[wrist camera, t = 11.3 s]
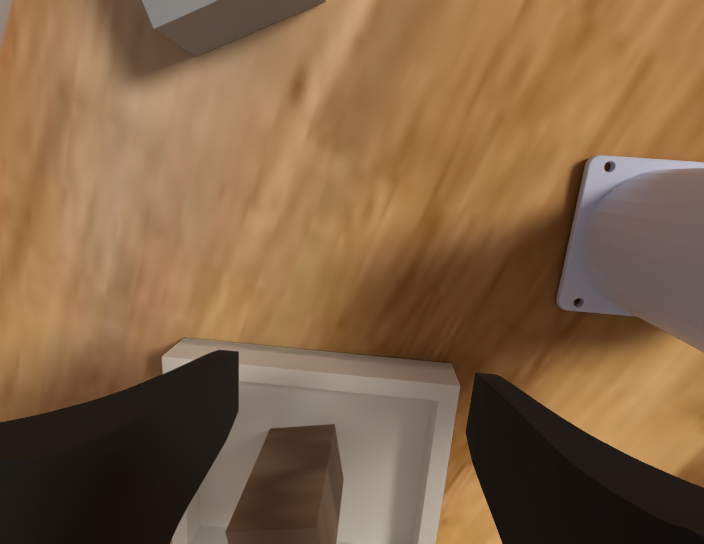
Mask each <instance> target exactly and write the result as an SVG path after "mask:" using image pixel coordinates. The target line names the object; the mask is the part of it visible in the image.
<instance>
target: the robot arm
mask: <svg viewBox="0 0 704 544" xmlns="http://www.w3.org/2000/svg"><path fill="white" fill-rule="evenodd" d="M607 162H609V163H610V164H611V168H610V170H609V171H607V172H606V171H605V170H604V166H605V164H606V163H607ZM577 298H580V302H579V303H578V304H577V305H574V303H573V302H574V300H575V299H577ZM556 303H557V305H558V306H559V307H560V308H562V309H563V310H567V311H578V312H589V313H601V314H612V315H623V316H634V317H639V318H641V319H642V320H644V321H646V322H648V323H650V324H652V325H654V326H655V327H657V328H659V329H661V330H663V331H665V332H667V333H668V334H670V335H672V336H674V337H676V338H678V339H679V340H681V341H683V342H685V343H687V344H689V345H691V346H692V347H694V348H696V349H698V350H700V351H702V352H704V162H691V161H677V160H662V159H648V158H633V157H619V156H604V155H599V156H593V157H591V158H589V159H588V161H587V162H586V164H585V168H584V173H583V177H582V182H581V187H580V191H579V196H578V201H577V205H576V210H575V215H574V219H573V224H572V229H571V233H570V238H569V243H568V248H567V252H566V257H565V262H564V266H563V271H562V276H561V280H560V285H559V290H558V294H557V299H556ZM238 411H239V351H228V350H217V351H214V352H211V353H208V354H206V355H204V356H202V357H199V358H197V359H195V360H193V361H191V362H189V363H186V364H184V365H182V366H180V367H178V368H176V369H173V370H171V371H169V372H167V373H165V374H162V375H160V376H157V377H155V378H153V379H150V380H148V381H145V382H143V383H141V384H138V385H136V386H133V387H131V388H128V389H126V390H123V391H120V392H117V393H114V394H111V395H108V396H105V397H102V398H99V399H96V400H93V401H90V402H86V403H83V404H79V405H75V406H71V407H67V408H63V409H60V410H56V411H52V412H48V413H44V414H40V415H35V416H31V417H26V418H21V419H16V420H11V421H6V422H0V544H170V542H171V540H172V537H173V535H174V533H175V531H176V529H177V527H178V524H179V522H180V521H181V519H182V517H183V515H184V513H185V511H186V509H187V507H188V506H189V504H190V502H191V501H192V499H193V497H194V495H195V494H196V492H197V490H198V489H199V487H200V485H201V483H202V482H203V480H204V478H205V477H206V475H207V473H208V472H209V470H210V468H211V466H212V465H213V463H214V461H215V460H216V458H217V456H218V454H219V453H220V451H221V449H222V447H223V446H224V444H225V442H226V440H227V438H228V436H229V433H230V431H231V429H232V426H233V424H234V421H235V419H236V416H237V414H238ZM466 436H467V440H468V445H469V450H470V454H471V458H472V462H473V465H474V468H475V471H476V474H477V477H478V479H479V482H480V485H481V487H482V490H483V493H484V495H485V498H486V501H487V503H488V506H489V509H490V511H491V514H492V517H493V519H494V522H495V524H496V527H497V530H498V532H499V535H500V538H501V540H502V543H503V544H704V488H702V487H700V486H697V485H695V484H692V483H690V482H687V481H685V480H682V479H680V478H678V477H675V476H673V475H671V474H668V473H666V472H664V471H662V470H659V469H657V468H655V467H653V466H650V465H648V464H646V463H644V462H641V461H639V460H637V459H635V458H633V457H631V456H629V455H627V454H625V453H623V452H621V451H619V450H617V449H615V448H613V447H612V446H610V445H608V444H606V443H604V442H602V441H600V440H598V439H596V438H595V437H593V436H591V435H589V434H588V433H586V432H584V431H583V430H581V429H579V428H578V427H576V426H574V425H573V424H571V423H570V422H568V421H566V420H565V419H563V418H561V417H560V416H558V415H557V414H555V413H554V412H552V411H551V410H549V409H548V408H546V407H545V406H543V405H542V404H540V403H539V402H537V401H536V400H534V399H533V398H532V397H530V396H529V395H527V394H526V393H524V392H523V391H521V390H520V389H519V388H517V387H516V386H514V385H513V384H511V383H510V382H508V381H507V380H505V379H503V378H502V377H500V376H498V375H495V374H484V373H475V379H474V385H473V391H472V397H471V403H470V409H469V416H468V422H467V428H466Z"/></svg>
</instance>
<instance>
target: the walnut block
mask: <svg viewBox="0 0 704 544" xmlns="http://www.w3.org/2000/svg"><path fill="white" fill-rule="evenodd" d="M343 481H344V479H343V473H342V466H341V460H340V454H339V448H338V441H337V435H336V429H335V424H327V425H313V426H299V427H285V428H271V429H270V430H269V432H268V434H267V437H266V439H265V441H264V444H263V446H262V448H261V451H260V453H259V455H258V458H257V460H256V462H255V465H254V467H253V469H252V471H251V474H250V476H249V478H248V481H247V483H246V485H245V488H244V490H243V492H242V495H241V497H240V499H239V502H238V504H237V506H236V509H235V511H234V513H233V515H232V518H231V520H230V522H229V525H228V527H227V529H226V532H225V533H226V537H227V541H228V544H336V542H337V533H338V525H339V516H340V507H341V499H342V490H343Z"/></svg>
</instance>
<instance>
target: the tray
mask: <svg viewBox="0 0 704 544" xmlns="http://www.w3.org/2000/svg"><path fill="white" fill-rule="evenodd" d="M217 350H228V351H239V411H238V414H237V416H236V419H235V421H234V424H233V426H232V429H231V431H230V433H229V436H228V438H227V440H226V442H225V444H224V446H223V447H222V449H221V451H220V453H219V454H218V456H217V458H216V460H215V461H214V463H213V465H212V466H211V468H210V470H209V472H208V473H207V475H206V477H205V478H204V480H203V482H202V483H201V485H200V487H199V489H198V490H197V492H196V494H195V495H194V497H193V499H192V501H191V502H190V504H189V506H188V507H187V509H186V511H185V513H184V515H183V517H182V519H181V521H180V522H179V524H178V527H177V529H176V531H175V533H174V535H173V537H172V544H228V541H227V537H226V533H225V532H226V529H227V527H228V525H229V522H230V520H231V518H232V515H233V513H234V511H235V509H236V506H237V504H238V502H239V499H240V497H241V495H242V492H243V490H244V488H245V485H246V483H247V481H248V478H249V476H250V474H251V471H252V469H253V467H254V465H255V462H256V460H257V458H258V455H259V453H260V451H261V448H262V446H263V444H264V441H265V439H266V437H267V434H268V432H269V430H270V429H271V428H285V427H299V426H313V425H327V424H335V429H336V435H337V441H338V448H339V454H340V460H341V466H342V473H343V479H344V481H343V490H342V499H341V507H340V516H339V525H338V533H337V542H336V544H436V537H437V531H438V525H439V518H440V512H441V506H442V499H443V493H444V487H445V480H446V474H447V468H448V461H449V455H450V449H451V442H452V436H453V430H454V423H455V417H456V411H457V404H458V398H459V391H460V384H459V381H458V379H457V376H456V374H455V371H454V369H453V366H452V363H443V362H432V361H422V360H411V359H401V358H391V357H380V356H370V355H360V354H349V353H339V352H328V351H318V350H308V349H297V348H287V347H276V346H266V345H256V344H245V343H235V342H225V341H214V340H204V339H193V338H183V339H182V340H181V341H180V342H179V343H177V344H176V345H175V346H174V347H173V348H171V349H170V350H169V351H168V352H167V353H165V354H164V355H163V356H162V371H163V374H165V373H167V372H169V371H171V370H173V369H176V368H178V367H180V366H182V365H184V364H186V363H189V362H191V361H193V360H195V359H197V358H199V357H202V356H204V355H206V354H208V353H211V352H214V351H217Z"/></svg>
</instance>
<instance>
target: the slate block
mask: <svg viewBox="0 0 704 544" xmlns="http://www.w3.org/2000/svg"><path fill="white" fill-rule="evenodd" d="M142 2H143V4H144V7H145V9H146V12H147V14H148V17H149V19H150V22H151V24H152V26H153V29H154V30H156V31H157V32H159V33H160V34H162V35H163V36H165V37H166V38H168V39H169V40H171V41H173V42H174V43H176V44H177V45H179V46H180V47H182V48H183V49H185V50H186V51H188V52H189V53H191V54H192V55H194V56H195V57H197V56H199V55H202V54H204V53H206V52H209V51H211V50H213V49H216V48H218V47H220V46H223V45H225V44H227V43H230V42H232V41H234V40H237V39H239V38H241V37H244V36H246V35H248V34H251V33H253V32H255V31H258V30H260V29H262V28H265V27H267V26H269V25H272V24H274V23H276V22H279V21H281V20H283V19H286V18H288V17H290V16H293V15H295V14H297V13H300V12H302V11H304V10H307V9H309V8H311V7H314V6H316V5H318V4H321V3H323V2H325V0H142Z"/></svg>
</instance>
